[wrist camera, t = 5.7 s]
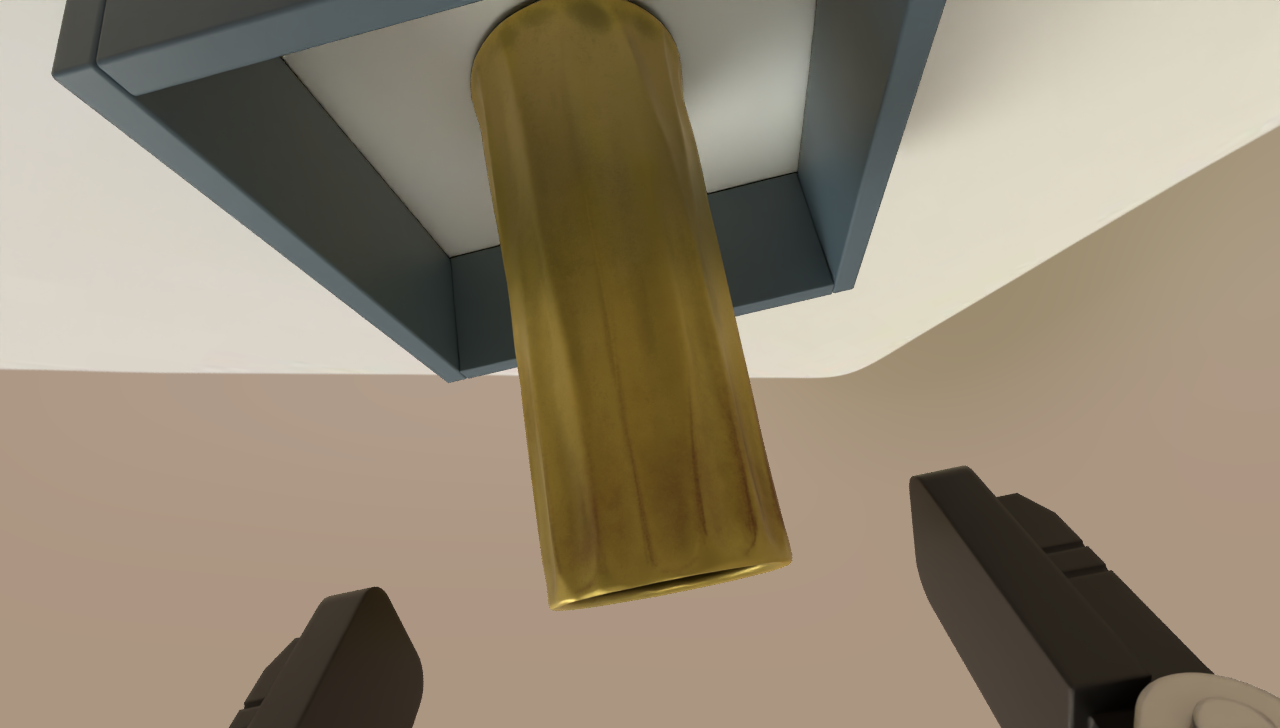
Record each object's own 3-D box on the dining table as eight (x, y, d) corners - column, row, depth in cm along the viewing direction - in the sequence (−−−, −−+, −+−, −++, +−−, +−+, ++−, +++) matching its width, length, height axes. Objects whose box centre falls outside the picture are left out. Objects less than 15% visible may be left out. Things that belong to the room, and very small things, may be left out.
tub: (439, 272, 27) (447, 384, 25) (88, -118, 13) (47, 76, 11) (815, 179, 26) (853, 289, 24) (900, -365, 12) (1012, -196, 10)
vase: (423, 88, 19) (463, 626, 13) (583, -64, 15) (722, 561, 10) (572, 178, 23) (645, 602, 18) (717, 76, 20) (860, 552, 15)
